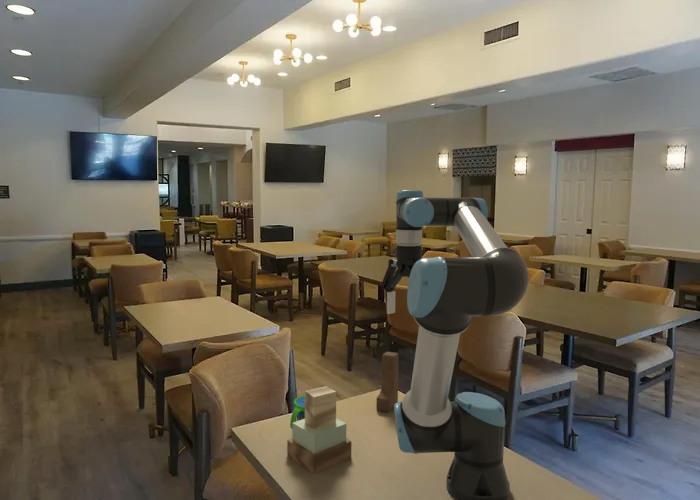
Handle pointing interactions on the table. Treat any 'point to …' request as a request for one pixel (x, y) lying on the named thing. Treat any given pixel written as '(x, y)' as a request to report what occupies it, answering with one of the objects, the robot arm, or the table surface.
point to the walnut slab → (318, 455)
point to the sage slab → (318, 435)
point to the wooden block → (388, 382)
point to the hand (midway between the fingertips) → (407, 317)
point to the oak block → (320, 407)
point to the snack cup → (298, 410)
